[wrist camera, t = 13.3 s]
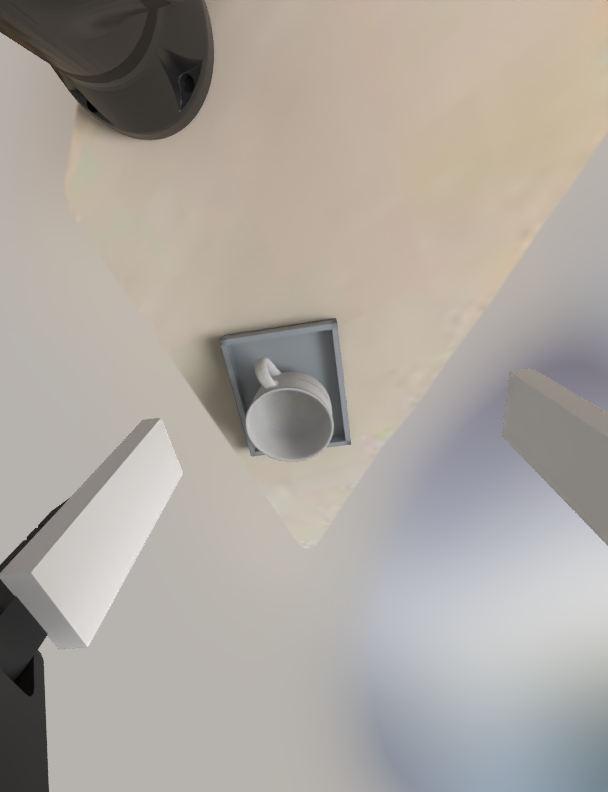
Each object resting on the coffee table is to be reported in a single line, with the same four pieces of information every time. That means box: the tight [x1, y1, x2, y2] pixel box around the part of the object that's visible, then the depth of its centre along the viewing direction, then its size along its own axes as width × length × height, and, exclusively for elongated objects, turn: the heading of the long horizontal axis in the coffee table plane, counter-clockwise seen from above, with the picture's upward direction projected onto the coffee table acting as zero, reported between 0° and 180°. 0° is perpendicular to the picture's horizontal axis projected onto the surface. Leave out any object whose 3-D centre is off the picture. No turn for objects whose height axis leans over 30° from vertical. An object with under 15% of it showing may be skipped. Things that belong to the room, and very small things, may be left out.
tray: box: [220, 319, 351, 456], centre depth 46 cm, size 18×15×2 cm
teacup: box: [245, 357, 334, 462], centre depth 43 cm, size 14×11×8 cm
